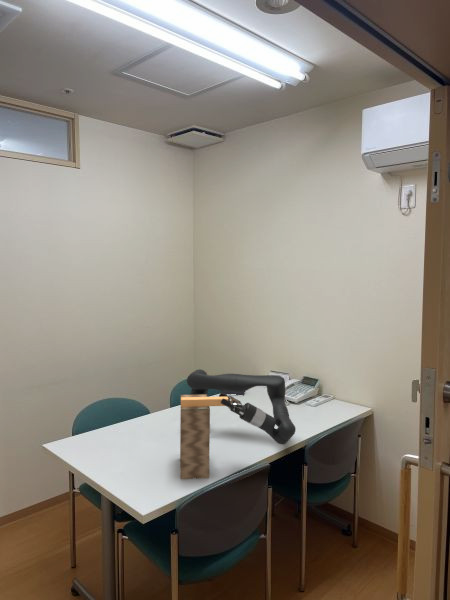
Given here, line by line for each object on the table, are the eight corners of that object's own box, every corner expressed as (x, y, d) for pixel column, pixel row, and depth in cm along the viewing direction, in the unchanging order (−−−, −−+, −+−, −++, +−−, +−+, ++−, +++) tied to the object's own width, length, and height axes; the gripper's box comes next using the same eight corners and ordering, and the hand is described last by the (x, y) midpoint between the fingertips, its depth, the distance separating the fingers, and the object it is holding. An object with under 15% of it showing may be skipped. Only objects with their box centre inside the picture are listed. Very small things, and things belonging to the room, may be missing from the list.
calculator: (243, 391, 303) (222, 388, 306) (243, 397, 304) (221, 394, 306) (245, 386, 314) (224, 384, 317) (245, 392, 315) (224, 390, 317)
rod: (181, 406, 187) (181, 399, 187) (181, 404, 191) (181, 397, 190) (228, 405, 189) (228, 399, 189) (227, 403, 193) (227, 396, 193)
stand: (180, 479, 187) (181, 409, 184) (180, 458, 206) (180, 394, 204) (209, 478, 188) (209, 408, 185) (206, 457, 208) (206, 394, 205)
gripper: (254, 402, 200) (223, 385, 197) (260, 413, 186) (227, 394, 183) (245, 416, 200) (214, 399, 198) (251, 428, 186) (217, 410, 183)
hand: (220, 397), depth 190 cm, fingers open, 8 cm apart
